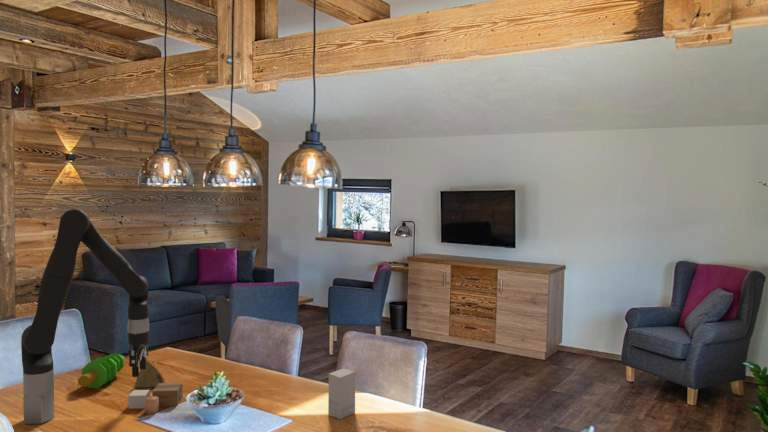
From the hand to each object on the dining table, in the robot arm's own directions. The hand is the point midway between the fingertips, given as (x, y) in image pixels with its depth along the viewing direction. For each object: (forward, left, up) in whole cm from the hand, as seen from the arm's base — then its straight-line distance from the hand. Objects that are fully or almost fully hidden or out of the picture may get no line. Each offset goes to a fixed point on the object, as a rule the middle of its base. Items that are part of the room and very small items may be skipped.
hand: (139, 372), depth 224 cm
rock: (+21, +3, -13) cm, 25 cm away
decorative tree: (+28, +23, -13) cm, 38 cm away
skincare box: (-13, -75, -13) cm, 78 cm away
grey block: (0, 0, -13) cm, 13 cm away
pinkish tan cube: (-7, -6, -12) cm, 16 cm away
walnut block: (+3, -9, -13) cm, 16 cm away
